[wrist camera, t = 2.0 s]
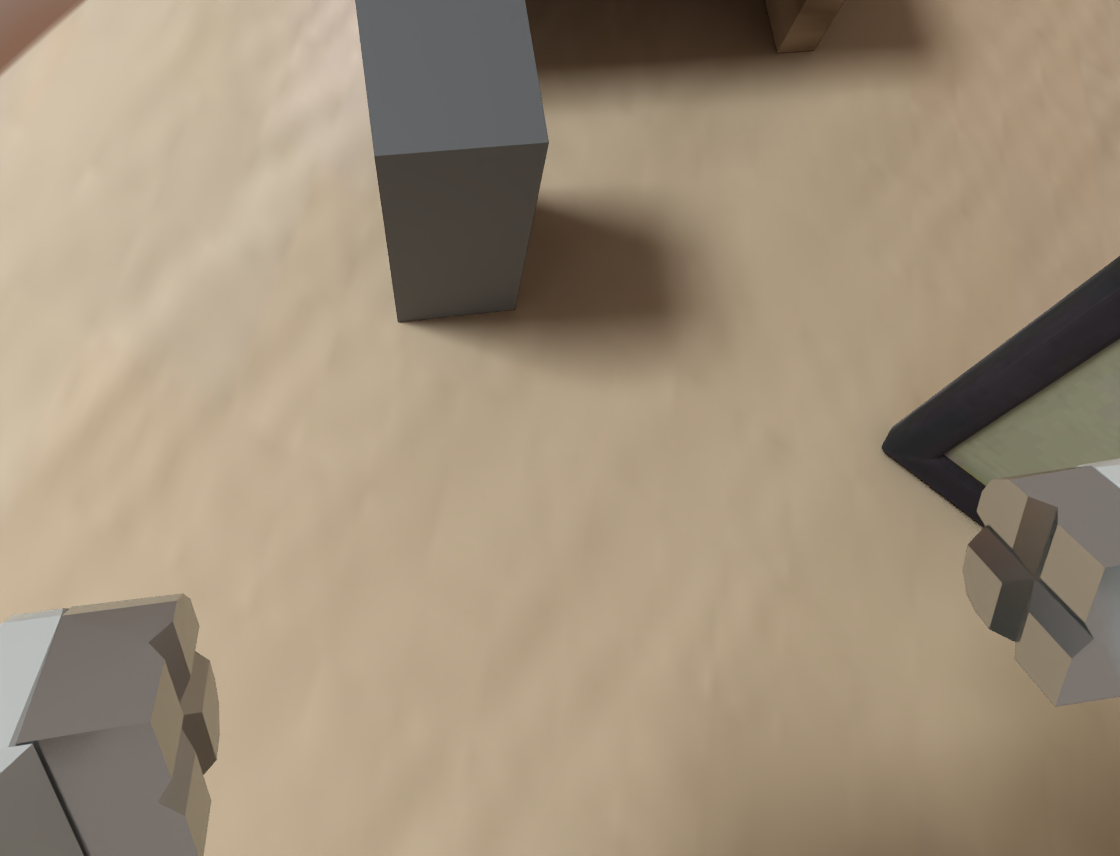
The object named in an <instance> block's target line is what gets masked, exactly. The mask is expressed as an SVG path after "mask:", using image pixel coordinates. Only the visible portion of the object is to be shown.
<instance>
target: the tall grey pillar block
mask: <svg viewBox="0 0 1120 856" xmlns="http://www.w3.org/2000/svg"><path fill="white" fill-rule="evenodd" d="M355 2H356V10H357V18H358V26H359V34H360V43H361V51H362V59H363V67H364V75H365V83H366V91H367V99H368V108H369V116H370V124H371V132H372V140H373V148H374V156H375V163H376V170H377V177H378V185H379V192H380V199H381V206H382V213H383V220H384V227H385V234H386V241H387V248H388V255H389V263H390V270H391V277H392V284H393V291H394V298H395V305H396V312H397V319H398V322H403V321H412V320H422V319H431V318H441V317H450V316H460V315H469V314H479V313H488V312H498V311H507V310H515V306H516V301H517V297H518V292H519V287H520V282H521V277H522V272H523V267H524V262H525V257H526V252H527V247H528V242H529V237H530V233H531V228H532V223H533V218H534V213H535V208H536V203H537V198H538V193H539V188H540V183H541V178H542V173H543V169H544V164H545V159H546V154H547V149H548V144H549V141H548V135H547V129H546V123H545V117H544V111H543V105H542V99H541V93H540V87H539V81H538V75H537V69H536V63H535V57H534V51H533V45H532V39H531V33H530V27H529V21H528V15H527V9H526V3H525V0H355Z"/></svg>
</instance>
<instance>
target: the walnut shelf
mask: <svg viewBox="0 0 1120 856" xmlns="http://www.w3.org/2000/svg"><path fill="white" fill-rule="evenodd" d="M844 1H845V0H765V2H766V7H767V11H768V15H769V20H770V24H771V28H772V33H773V37H774V41H775V46H776V50H777V53H784V52H799V51H814V50H815V48H816V46H817V45H818V43H819V41H820V40H821V38H822V37H823V35H824V33H825V32H826V30H827V28H828V27H829V25H830V24H831V22H832V20H833V19H834V17H835V15H836V14H837V12H838V10H839V9H840V7H841V6H842V4H843V2H844Z"/></svg>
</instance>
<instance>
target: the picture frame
mask: <svg viewBox="0 0 1120 856" xmlns="http://www.w3.org/2000/svg"><path fill="white" fill-rule="evenodd" d="M882 450H883V451H884V452H885V453H887V454H888V455H889V456H891V457H892V458H893V459H895V460H896V461H897V462H899V463H900V464H901V465H902V466H904V467H905V468H906V469H908V470H909V471H910V472H912V473H913V474H914V475H916V476H917V477H918V478H920V479H921V480H922V481H924V482H925V483H926V484H928V485H929V486H930V487H932V488H933V489H934V490H936V491H937V492H938V493H940V494H941V495H942V496H944V497H945V498H946V499H948V500H949V501H950V502H952V503H953V504H954V505H956V506H957V507H958V508H960V509H961V510H962V511H963V512H965V513H966V514H967V515H969V516H970V517H971V518H973V519H974V520H975V521H977V522H978V523H979V524H981V525H982V526H983V527H985V525H984V523H983V521H982V520H981V518H980V516H979V515H978V513H977V508H978V504H979V500H980V497H981V493H982V491H983V490H984V489H985V487H986V486H987V485H988V483H989V482H990V481H991V480H992V479H997V478H1004V477H1011V476H1018V475H1025V474H1031V473H1038V472H1045V471H1052V470H1058V469H1065V468H1073V467H1077V466H1079V465H1083V464H1089V463H1095V462H1101V461H1107V460H1113V459H1119V458H1120V256H1119V257H1118V258H1116V259H1115V260H1114V261H1112V262H1111V263H1110V264H1108V265H1107V266H1106V267H1104V268H1103V269H1102V270H1100V271H1099V272H1098V273H1096V274H1095V275H1094V276H1092V277H1091V278H1090V279H1088V280H1087V281H1086V282H1084V283H1083V284H1082V285H1080V286H1079V287H1078V288H1076V289H1075V290H1074V291H1072V292H1071V293H1070V294H1068V295H1067V296H1066V297H1064V298H1063V299H1062V300H1060V301H1059V302H1058V303H1057V304H1055V305H1054V306H1053V307H1051V308H1050V309H1049V310H1047V311H1046V312H1045V313H1043V314H1042V315H1041V316H1039V317H1038V318H1037V319H1035V320H1034V321H1033V322H1031V323H1030V324H1029V325H1027V326H1026V327H1025V328H1023V329H1022V330H1021V331H1019V332H1018V333H1017V334H1015V335H1014V336H1013V337H1011V338H1010V339H1009V340H1007V341H1006V342H1005V343H1003V344H1002V345H1001V346H999V347H998V348H997V349H995V350H994V351H993V352H991V353H990V354H989V355H987V356H986V357H985V358H983V359H982V360H981V361H979V362H978V363H977V364H975V365H974V366H973V367H971V368H970V369H969V370H967V371H966V372H965V373H963V374H962V375H961V376H959V377H958V378H957V379H955V380H954V381H953V382H951V383H950V384H949V385H947V386H946V387H945V388H943V389H942V390H941V391H939V392H938V393H937V394H935V395H934V396H933V397H932V398H930V399H929V400H928V401H926V402H925V403H924V404H922V405H921V406H920V407H918V408H917V409H916V410H914V411H913V412H912V413H910V414H909V415H908V416H906V417H905V418H904V419H902V420H901V421H900V422H898V423H897V424H896V425H894V426H893V427H892V429H891V430H890V432H889V434H888V436H887V438H886V439H885V441H884V443H883V445H882Z"/></svg>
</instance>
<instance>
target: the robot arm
mask: <svg viewBox="0 0 1120 856" xmlns="http://www.w3.org/2000/svg"><path fill="white" fill-rule="evenodd" d="M977 513H978V515H979V516H980V518H981V520H982V521H983V523H984V525H985V527H984V528H983V529H982V530H981V531H980V532H979V533H978V534H977V535H976V536H975V537H974V538H973V540H972V541H971V542H970V543H969V544H968V546H967V551H966V555H965V560H964V565H963V575H964V581H965V587H966V593H967V596H968V598H969V600H970V602H971V604H972V606H973V608H974V610H975V612H976V614H977V615H978V616H979V617H980V619H981V620H982V621H983V622H984V624H985V625H986V626H987V627H988V628H989V629H990V630H992V631H994V632H996V633H998V634H1000V635H1002V636H1004V637H1006V638H1008V639H1010V640H1012V641H1014V642H1015V661H1016V662H1017V663H1018V664H1019V665H1020V667H1021V668H1022V669H1023V670H1024V671H1025V672H1026V674H1027V675H1028V676H1029V677H1030V678H1031V679H1032V681H1033V682H1034V683H1035V684H1036V685H1037V687H1038V688H1039V689H1040V690H1041V691H1042V692H1043V694H1044V695H1045V696H1046V697H1047V698H1048V699H1049V701H1050V702H1051V703H1052V704H1053V705H1054V707H1057V706H1063V705H1070V704H1076V703H1082V702H1089V701H1095V700H1102V699H1108V698H1115V697H1120V458H1119V459H1113V460H1107V461H1101V462H1095V463H1089V464H1083V465H1079V466H1077V467H1073V468H1065V469H1058V470H1052V471H1045V472H1038V473H1031V474H1025V475H1018V476H1011V477H1004V478H997V479H992V480H991V481H990V482H989V483H988V485H987V486H986V487H985V489H984V490H983V491H982V493H981V497H980V500H979V504H978V508H977ZM198 631H199V623H198V620H197V617H196V614H195V611H194V608H193V605H192V602H191V599H190V598H188V597H187V596H186V595H184V594H174V595H166V596H158V597H149V598H141V599H133V600H124V601H116V602H108V603H99V604H91V605H83V606H75V607H71V608H70V609H64V608H63V609H55V610H48V611H40V612H32V613H24V614H17V615H12V616H10V617H9V618H8V619H7V620H5V621H4V622H3V623H1V625H0V856H203V855H204V848H205V841H206V834H207V827H208V820H209V813H210V805H211V798H210V795H209V792H208V789H207V786H206V783H205V779H204V776H203V775H204V774H205V773H206V771H207V770H208V769H209V768H210V767H211V766H212V765H213V763H214V762H215V761H216V760H217V752H218V743H219V735H220V731H219V701H218V695H217V689H216V682H215V678H214V674H213V671H212V667H211V664H210V661H209V660H208V659H206V658H205V657H203V656H202V655H200V654H199V653H197V652H196V651H195V648H196V642H197V637H198Z"/></svg>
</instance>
